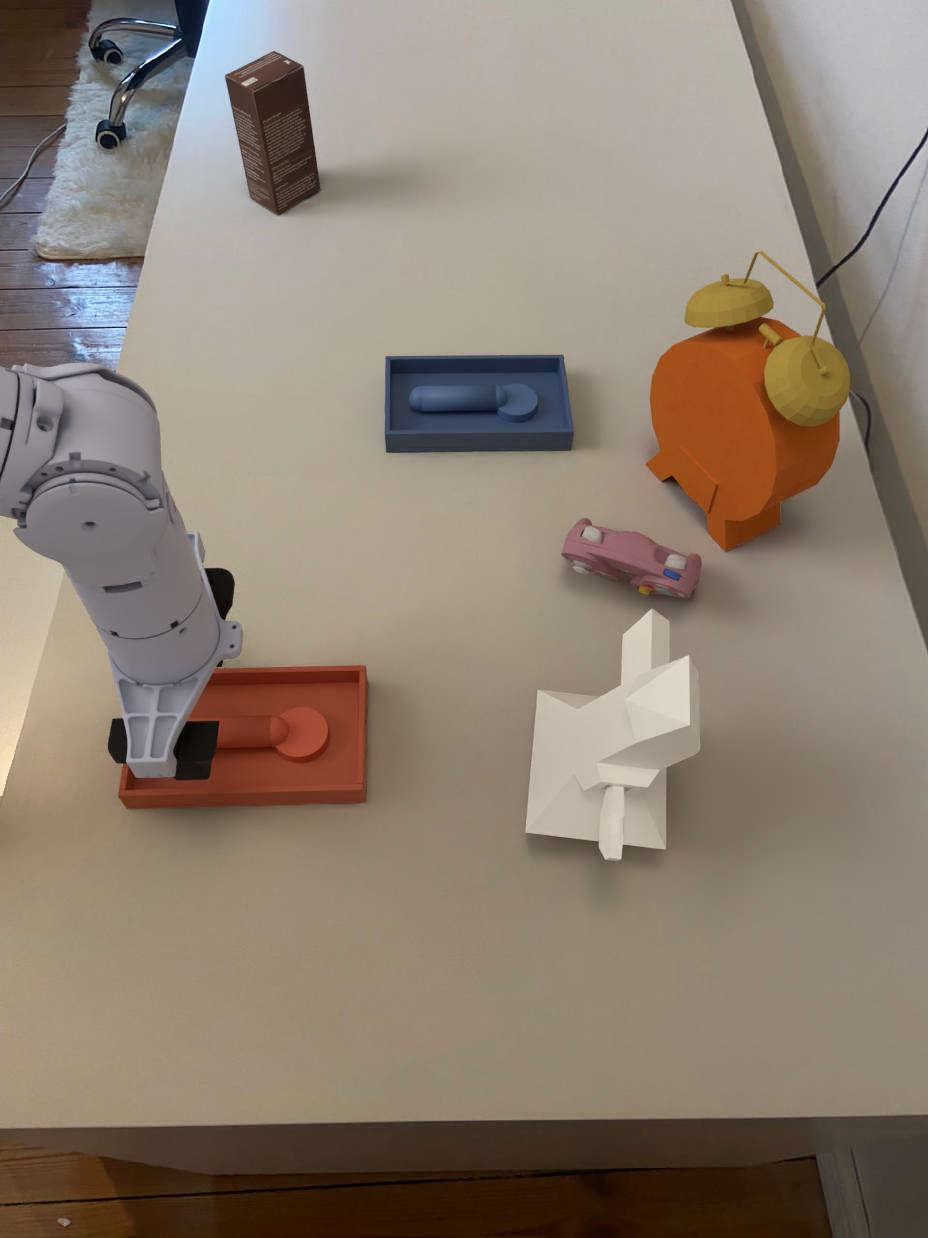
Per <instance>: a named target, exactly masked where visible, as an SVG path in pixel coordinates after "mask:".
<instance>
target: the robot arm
mask: <svg viewBox="0 0 928 1238" xmlns="http://www.w3.org/2000/svg"><path fill="white" fill-rule="evenodd" d="M161 441H162V440H161V426H160V421H159V417H158V410H157V407H156V405H155V402H154V400H153V398H151V396H150V395H149V393H148V392H147V391H146V390H145V389H144V388H143V387H142V386H141V385H140V384H138V383H137V382H135V381H134V380H133V379H131V378H129V377H127V376H125V375H124V374H121V373H119V372H116V371H113V370H112V369H111V368H109V367H108V366H106V365H104V364H98V363H92V362H69V363H62V364H58V365H54V366H38V365H34V364H31V363H27V362H25V363H24V365H19V364H13V365H12V366H11V368H8V367H4V366H1V365H0V517H3V518H4V517H5V518H7V519H11V520H12V519H13V520H17V521H16V526H17V527H14V528H13V530H12V532H13V534H14V535H15V537H16V538H17V539H18V540H19V541H20V542H21V543H22V544H23V545H24V546H25V547H27V548H28V549H29V550H31V551H33V552H34V553H36V554H38V555H40V556H42V557H45V558H47V559H49V560H52V561H54V562H57V563H59V564H60V565H61V567H62V568H63V570H64V572H65V574H66V576H67V578H68V579H69V581H70V583H71V584H72V585H71V586H73V589H74V590H75V592H76V594H77V596H78V598H79V600H80V601H81V603H82V605H83V606H84V609H85V610H86V612H87V615H88V616H89V618H90V620H91V621H92V623H93V626H94V628H95V630H96V631H97V633H98V634H99V636H100V638H101V640H102V642H103V644H104V645H105V647H106V650H107V658H108V662H109V665H110V671H111V674H112V679H113V682H114V686H115V692H116V695H117V699H118V704H119V706H120V711H121V716H122V718H121V717H120V718H119V717H118V718H117V717H115V718H113V717H112V718H111V724H110V729H109V734H108V740H107V752H108V753H109V755H110V756H111V758H112V760H113V762H114V763H116V764H118V765H123V764H128V766H129V767H130V769H131V770H132V772H133V774H134V775H135V777H136V778H162V777H172V778H174V779H175V780H207V779H209V777H210V773H211V764H212V760H213V757H214V754H215V751H216V747H217V739H218V730H219V722H220V721H187V720H188V718H189V716H190V714H191V712H192V710H193V709H194V707H195V705H196V703H197V701H198V699H199V697H200V696H201V694H202V692H203V690H204V688H205V686H206V685H207V683H208V681H209V679H210V677H211V675H212V673H213V672H214V670H215V668H223V664H224V660H234V659H237V658H238V657H240V656H241V654H242V651H243V642H244V640H243V639H244V630H243V627H242V624H241V623H240V622H239V621H236V620H226V619H227V616H228V614H229V612H230V610H231V609H232V607H233V604H234V595H235V586H236V581H235V577H234V575H233V573H231V571H230V570H228V569H226V568H223V567H205V566H204V562H205V559H206V558H205V557H206V549H205V546H204V543H203V539H202V536H201V534H200V531H187V529H186V525H185V522H184V519H183V517H182V514H181V512H180V510H179V509H178V507H177V506H176V502H175V500H174V497H173V495H172V493H171V491H170V487H169V486H168V482H167V479H166V476H165V473H164V470H163V468H162V467H163V463H162V462H163V461H162V442H161Z"/></svg>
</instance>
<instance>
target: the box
mask: <svg viewBox="0 0 928 1238" xmlns="http://www.w3.org/2000/svg"><path fill="white" fill-rule="evenodd" d="M224 80H225V84H226V89H227V94H228V97H229V98H228V99H229V101H230V102H229V103H230V108H231V112H232V117H233V121H234V122H233V123H234V126H235V130H236V136H237V141H238V145H239V150H240V156H241V160H242V165H243V169H244V175H245V179H246V183H247V189H248V193H249V198H250V199H252V200H253V201H254V202H256V203H258V204H259V205H260V206H261V207H263V208H265V209H266V210H269V211H270V212H271V213H273V214H275V215H279V214H280V213H282V212H284V211H285V210H287V209H288V208H289V209H290V207H292V206H294V205H295V204H297V203H299V202H300V201H302V200H304V199H306V198H307V197H309V196H311V195H312V194H314V193H316V192H318V191H320V190H321V183H320V182H321V181H320V176H319V175H320V174H319V168H318V160H317V153H316V146H315V140H314V133H313V132H314V131H313V124H312V117H311V110H310V104H309V96H308V89H307V82H306V81H307V79H306V73H305V67H304V65H303V64H301V63H299V62H297V61H295V60H294V59H291V58H289V57H287V56H286V55H284V54H282V53H279V52H278V51H275V50H272V51H270V52H269V53H266V54H265V55H263V56H260V57H259V58H257V59H254V60H253V61H250V62H249V63H247V64H244V65H243V66H241V67H239V68H236V69H234V70H233V71H230V72H228V73H226V74H224Z"/></svg>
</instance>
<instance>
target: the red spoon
mask: <svg viewBox="0 0 928 1238" xmlns="http://www.w3.org/2000/svg"><path fill="white" fill-rule="evenodd" d="M187 721H220V722H219V730H218V739H217V747H216V748H248V747H275V748H276V750H277V752H278V753H279V754H280V755H281V756H282V757H283V758H285V759H286V760H289V761H292V762H307V761H310V760H313V759H315V758H316V757H318V756H319V755H320V754H321V753H322V752H323V751H324V750H325V749H326V747H327V745H328V742H329V737H330V734H329V728H328V724H327V721H326V719H325V718H324V716H323V715H322V714H321V713H320V712H318V711H317V710H315V709H313V708H309V707H295V708H292V709H289V710H287V711H286V712H284V713H283V714H281V715H280V716H274V715H267V716H223V717H189V718H188V720H187Z"/></svg>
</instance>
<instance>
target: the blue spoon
mask: <svg viewBox="0 0 928 1238" xmlns="http://www.w3.org/2000/svg"><path fill="white" fill-rule="evenodd" d="M409 402H410V405H411V406H412V407H413V408H414V409H415V410H417V411H495V412H496V413H497V415H498V416H500V417H501V418H502V419H504V420H507V421H510V422H523V421H527V420H529V419H531V418H532V417H533V416H534V415H535V414H536V412H537V408H538V396H537V394H536V393H535V391H534V390H533V389H531V388H530V387H528V386H526V385H522V384H508V385H505V386H503V387H501V386H497V385H481V386H418V387H416V388H414V389H413V390H412V391H411V393H410V395H409Z"/></svg>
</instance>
